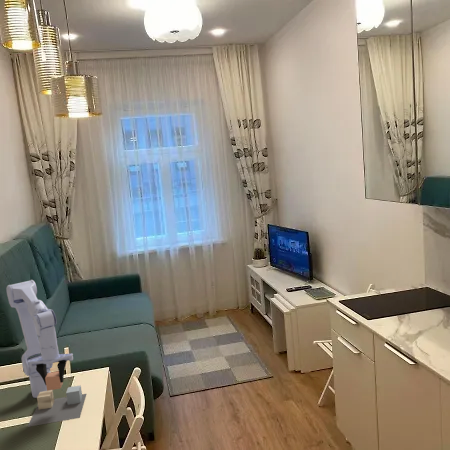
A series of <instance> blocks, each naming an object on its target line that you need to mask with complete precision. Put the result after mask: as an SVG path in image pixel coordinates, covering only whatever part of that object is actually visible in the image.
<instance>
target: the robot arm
mask: <svg viewBox="0 0 450 450" xmlns="http://www.w3.org/2000/svg"><path fill="white" fill-rule="evenodd" d="M37 294H38V288H37V284H36V282H35V280H33V279H30V280H27V281H22V282H18V283H13V284H8V285H7V286H6V296H7V300H8V304H9V305H10V307H11V308H13V309H14V308H15V310H16V312H17V315H18V319H19V322H20V327H21V331H22V334H23V337H24V342H25V345H26V350H25V352H24V353H23V354H22V355H21V362H22V363H21V365H22V369H23V372H24V375H26V376H28V378H29V383H30V389H31V394H32V395H31V397H33V398H34V399H35V398H36V399H37V397H38V395H39V393H40V392H43V391H47V387H46V380H45V378H46V376H47V374H48V373H51V372H52V371H51V369H52V368H53V365H54V364H55V363H57V371H59V375H60V382H61V383H62V382H63V383H64V375H65V369H66V364H67V362H68V361H70V362H71V361H74V356H73V355H74V354H73V353H60V352H59V346H58V338H57V332H56V326H57V316H56V313H55V312H54V309H50V308H48V307H47V305H46V304H45V303H44V302H43V300H41V299H38V297H37ZM48 391H49V390H48Z"/></svg>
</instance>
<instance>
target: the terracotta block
mask: <svg viewBox="0 0 450 450" xmlns="http://www.w3.org/2000/svg"><path fill="white" fill-rule="evenodd" d="M50 372H51V373H48V374H47V376H46V378H45V380H46V387H47V391H48V390H53V391H54V390H59V389H60V390H61V388H62V386H63V384H64V381H63V382H62V383H61V382H60V375H59V370H57V371H53V372H52V371H50Z"/></svg>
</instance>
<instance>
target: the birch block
mask: <svg viewBox="0 0 450 450" xmlns="http://www.w3.org/2000/svg"><path fill="white" fill-rule="evenodd" d="M36 399H37V400H36V401H37V406H38V407H39V410H40V409H46V408H52V406H53V404H54V399H55V397H54V390H49V391H43V392H40V393H39V395H38V397H37V398H36Z"/></svg>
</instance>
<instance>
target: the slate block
mask: <svg viewBox="0 0 450 450" xmlns="http://www.w3.org/2000/svg"><path fill="white" fill-rule="evenodd" d="M82 394H83V391H82V386H81V384H80V385H74V386H69V387H67V390H66V392H65V397H67V403H68V405H70V404H76V403H81V400H82Z"/></svg>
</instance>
